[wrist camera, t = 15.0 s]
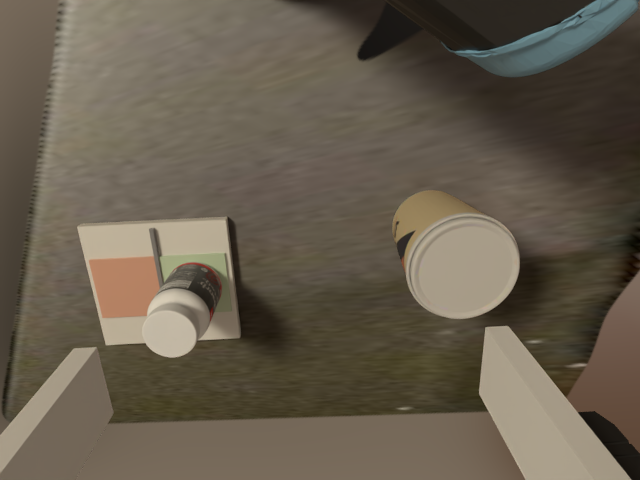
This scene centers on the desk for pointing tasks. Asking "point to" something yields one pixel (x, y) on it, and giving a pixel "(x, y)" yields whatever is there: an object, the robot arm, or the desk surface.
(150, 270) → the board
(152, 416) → the desk surface
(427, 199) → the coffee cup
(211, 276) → the pill bottle
